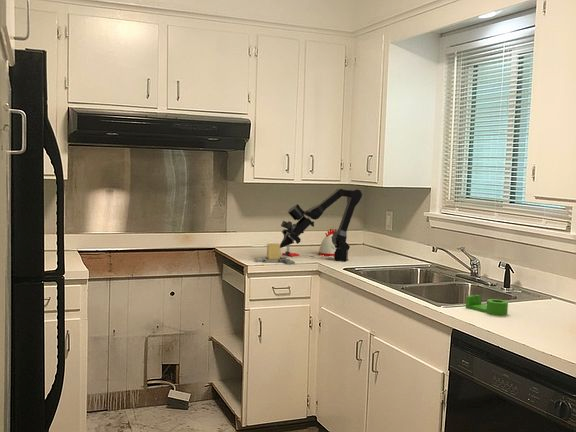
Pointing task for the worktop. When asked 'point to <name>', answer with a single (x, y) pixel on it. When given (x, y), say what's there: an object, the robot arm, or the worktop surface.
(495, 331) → the worktop surface
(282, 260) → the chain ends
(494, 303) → the green ring bracket
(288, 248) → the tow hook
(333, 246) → the kitchen timer
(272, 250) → the yellow block
